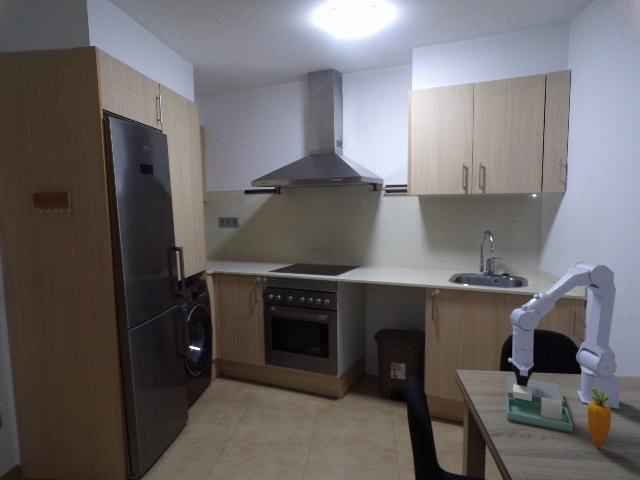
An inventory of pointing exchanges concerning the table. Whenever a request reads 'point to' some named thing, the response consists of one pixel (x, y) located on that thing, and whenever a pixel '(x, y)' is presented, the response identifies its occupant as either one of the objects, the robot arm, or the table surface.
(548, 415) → the tile
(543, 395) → the board
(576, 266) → the robot arm
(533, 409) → the box
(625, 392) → the table surface
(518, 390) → the tile
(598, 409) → the carrot
